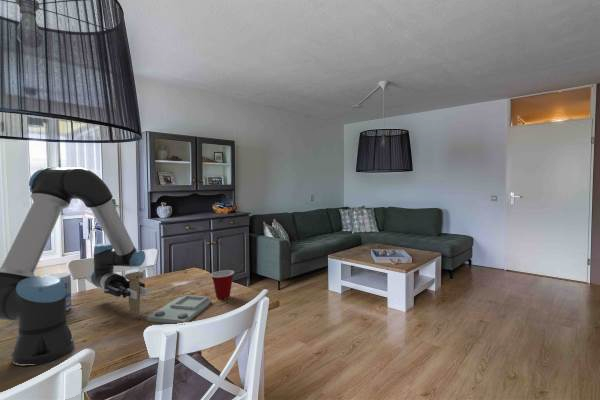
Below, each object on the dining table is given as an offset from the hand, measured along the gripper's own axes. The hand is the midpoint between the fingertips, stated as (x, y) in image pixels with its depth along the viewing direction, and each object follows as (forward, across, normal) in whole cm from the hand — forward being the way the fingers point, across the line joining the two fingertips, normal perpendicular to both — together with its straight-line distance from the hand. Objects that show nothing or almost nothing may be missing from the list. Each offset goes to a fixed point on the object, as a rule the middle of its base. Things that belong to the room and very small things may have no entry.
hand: (141, 294), depth 122 cm
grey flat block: (+4, -14, -10) cm, 18 cm away
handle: (-5, 0, -8) cm, 10 cm away
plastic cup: (+6, -35, -10) cm, 37 cm away
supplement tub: (-38, +16, -11) cm, 42 cm away
